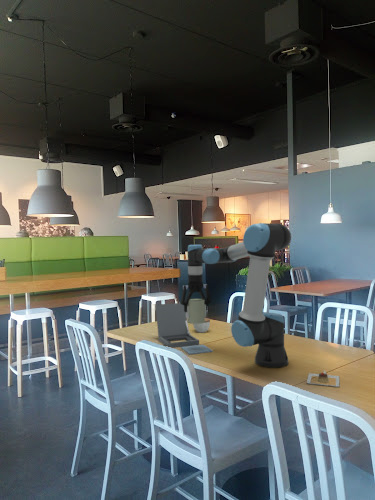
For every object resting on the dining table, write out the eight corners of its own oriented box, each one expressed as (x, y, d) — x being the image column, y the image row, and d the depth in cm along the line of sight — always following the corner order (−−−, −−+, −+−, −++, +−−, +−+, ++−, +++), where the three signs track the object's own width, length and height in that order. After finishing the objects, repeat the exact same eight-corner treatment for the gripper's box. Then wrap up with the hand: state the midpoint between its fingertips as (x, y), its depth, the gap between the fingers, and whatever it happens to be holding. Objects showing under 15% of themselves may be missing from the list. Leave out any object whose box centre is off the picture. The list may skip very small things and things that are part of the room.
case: (199, 344, 219) (198, 308, 218) (167, 348, 213) (167, 310, 212) (185, 335, 240) (184, 302, 240) (156, 338, 234) (155, 304, 234)
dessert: (306, 385, 157) (306, 373, 157) (308, 375, 168) (308, 364, 168) (339, 389, 153) (339, 376, 152) (339, 378, 164) (339, 367, 164)
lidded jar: (213, 330, 252) (213, 315, 252) (204, 334, 243) (204, 318, 243) (198, 328, 258) (198, 314, 257) (189, 332, 249) (189, 317, 248)
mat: (213, 351, 205) (213, 350, 205) (189, 354, 200) (189, 353, 200) (203, 345, 217) (203, 344, 217) (180, 348, 212) (180, 347, 212)
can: (203, 324, 203) (203, 300, 202) (185, 323, 205) (185, 300, 204) (206, 320, 212) (205, 298, 211) (189, 320, 214) (188, 297, 213)
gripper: (211, 272, 215) (212, 314, 215) (173, 274, 207) (174, 317, 208) (217, 273, 208) (217, 317, 208) (177, 275, 200) (178, 320, 201)
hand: (196, 317), depth 208 cm, fingers closed on can, 9 cm apart
